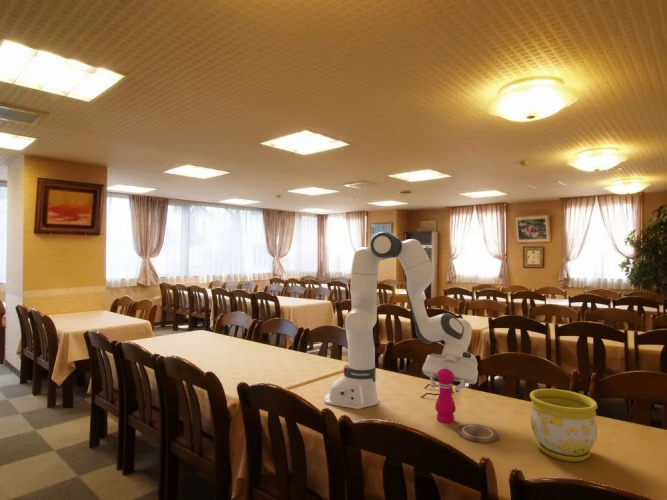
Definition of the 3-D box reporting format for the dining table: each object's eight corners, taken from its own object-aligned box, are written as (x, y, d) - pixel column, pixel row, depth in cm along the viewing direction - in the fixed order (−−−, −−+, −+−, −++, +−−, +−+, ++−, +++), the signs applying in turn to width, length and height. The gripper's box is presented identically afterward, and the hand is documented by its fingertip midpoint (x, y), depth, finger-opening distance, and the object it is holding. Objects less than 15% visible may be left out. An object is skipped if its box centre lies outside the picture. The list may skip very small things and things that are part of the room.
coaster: (458, 440, 130) (458, 437, 130) (456, 424, 143) (456, 421, 143) (501, 444, 127) (501, 441, 127) (494, 427, 140) (494, 425, 140)
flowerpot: (518, 439, 131) (518, 389, 131) (570, 437, 133) (570, 387, 133) (553, 468, 113) (553, 409, 114) (613, 465, 115) (612, 407, 115)
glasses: (452, 402, 167) (452, 389, 167) (420, 398, 171) (420, 386, 171) (453, 392, 179) (453, 380, 179) (423, 389, 183) (423, 378, 183)
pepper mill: (456, 424, 143) (456, 368, 143) (435, 422, 144) (435, 367, 145) (454, 416, 150) (454, 363, 150) (434, 415, 151) (434, 361, 152)
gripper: (425, 348, 159) (415, 379, 151) (478, 355, 147) (470, 389, 139) (430, 357, 163) (420, 388, 155) (482, 365, 151) (474, 399, 143)
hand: (444, 388), depth 147 cm, fingers open, 8 cm apart
